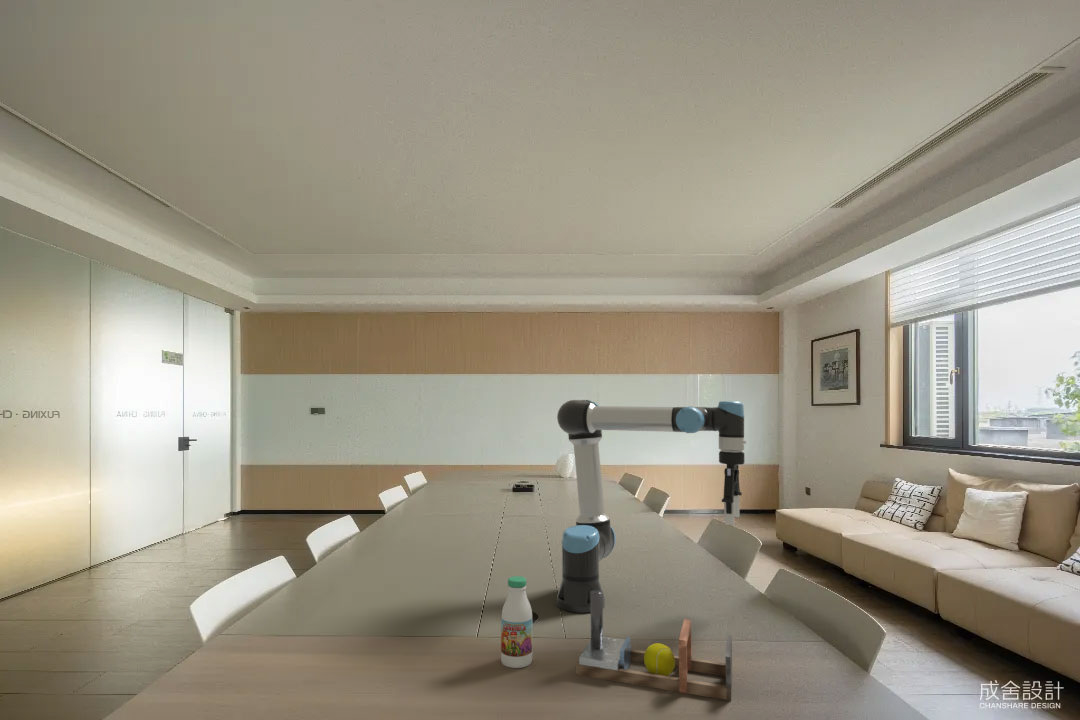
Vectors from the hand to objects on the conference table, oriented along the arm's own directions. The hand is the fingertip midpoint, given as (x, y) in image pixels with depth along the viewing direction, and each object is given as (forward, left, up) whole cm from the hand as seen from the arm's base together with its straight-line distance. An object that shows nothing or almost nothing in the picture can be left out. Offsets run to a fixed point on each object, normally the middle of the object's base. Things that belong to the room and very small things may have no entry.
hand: (732, 520), depth 175 cm
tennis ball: (-16, -49, -28) cm, 58 cm away
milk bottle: (-50, -54, -28) cm, 78 cm away
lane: (-17, -49, -28) cm, 58 cm away
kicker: (-29, -49, -28) cm, 63 cm away
